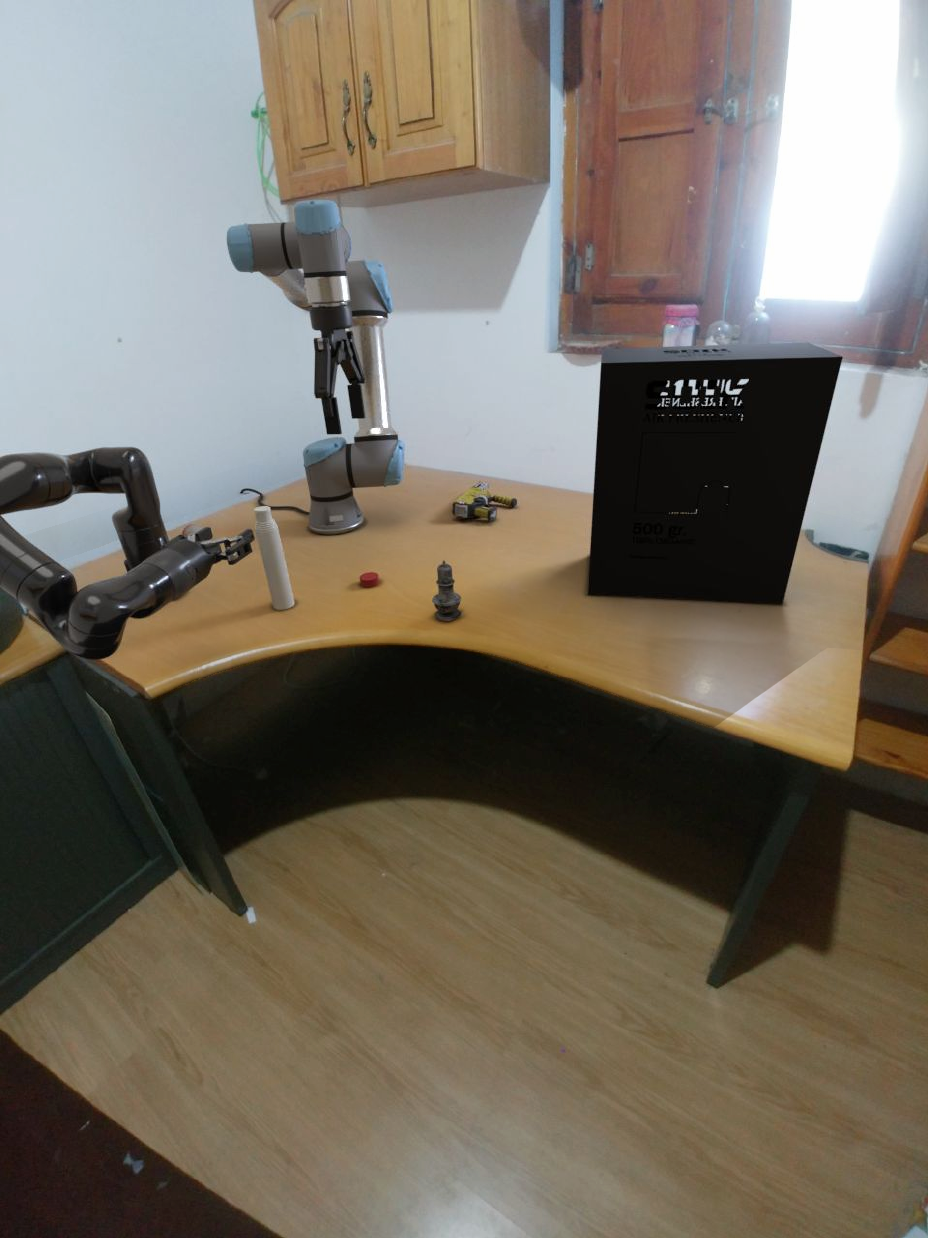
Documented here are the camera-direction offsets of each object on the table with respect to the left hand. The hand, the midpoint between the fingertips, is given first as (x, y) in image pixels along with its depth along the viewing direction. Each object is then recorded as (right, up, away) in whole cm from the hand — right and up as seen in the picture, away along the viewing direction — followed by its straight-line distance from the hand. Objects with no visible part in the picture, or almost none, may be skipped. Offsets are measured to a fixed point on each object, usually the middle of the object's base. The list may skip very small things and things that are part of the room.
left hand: (230, 532), depth 109 cm
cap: (+21, -6, +26) cm, 34 cm away
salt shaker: (+39, -15, +12) cm, 44 cm away
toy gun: (+50, +16, +65) cm, 84 cm away
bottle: (+4, -13, +20) cm, 24 cm away
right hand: (+19, +23, +10) cm, 31 cm away
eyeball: (-29, +4, +52) cm, 59 cm away
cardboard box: (+89, -7, +21) cm, 92 cm away
